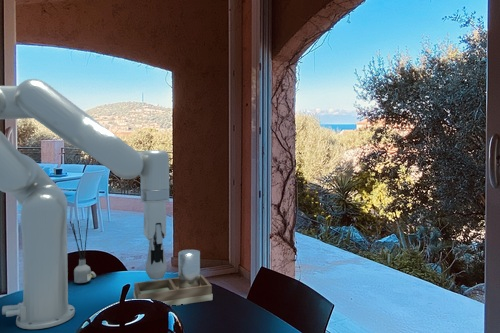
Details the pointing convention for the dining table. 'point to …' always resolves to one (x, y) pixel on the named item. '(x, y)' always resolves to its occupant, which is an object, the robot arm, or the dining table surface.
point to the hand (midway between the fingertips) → (156, 261)
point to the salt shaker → (155, 265)
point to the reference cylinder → (188, 268)
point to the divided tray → (173, 291)
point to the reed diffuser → (82, 263)
